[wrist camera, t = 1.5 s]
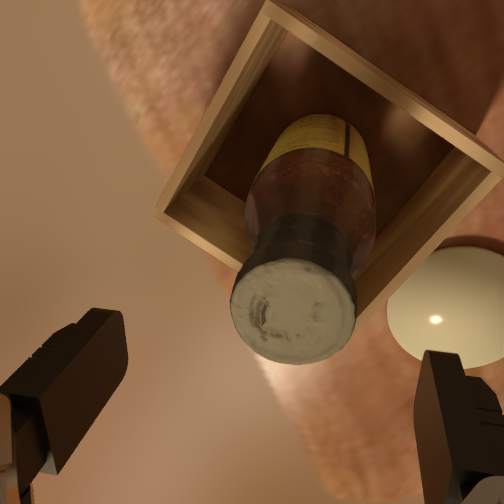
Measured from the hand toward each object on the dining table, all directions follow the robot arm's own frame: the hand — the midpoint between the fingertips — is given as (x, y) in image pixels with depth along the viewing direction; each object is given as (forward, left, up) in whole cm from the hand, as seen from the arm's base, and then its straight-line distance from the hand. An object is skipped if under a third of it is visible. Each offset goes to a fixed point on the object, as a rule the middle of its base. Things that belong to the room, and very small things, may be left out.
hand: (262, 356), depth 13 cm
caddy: (0, 0, -22) cm, 22 cm away
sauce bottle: (0, 0, -23) cm, 23 cm away
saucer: (-10, +11, -22) cm, 27 cm away
